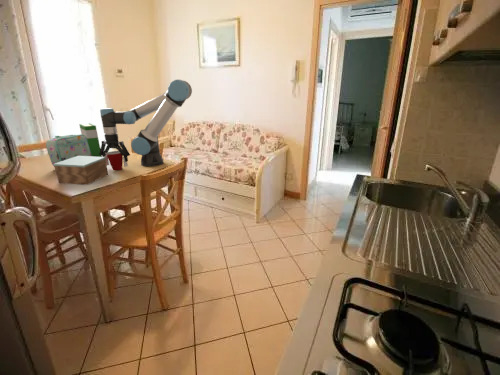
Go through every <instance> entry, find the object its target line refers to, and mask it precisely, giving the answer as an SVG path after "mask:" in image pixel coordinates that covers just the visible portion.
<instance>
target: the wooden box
mask: <svg viewBox="0 0 500 375" xmlns="http://www.w3.org/2000/svg"><path fill="white" fill-rule="evenodd" d="M53 167H54V170H55V173H56V178H57V182H58V183H59V184H69V185H71V184H73V185H85V186H87V185H90V184H92V183H94V182H97V181H98V180H101V179H103V178H104V177H108V176H109V172H108V165H106V160H105V159H104V160H101V161H99V162H96V163H94V164H91V165H89V166H86V167H67V166H53Z"/></svg>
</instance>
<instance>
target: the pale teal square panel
mask: <svg viewBox="0 0 500 375" xmlns="http://www.w3.org/2000/svg"><path fill="white" fill-rule="evenodd" d="M104 159H106V157H103V156H101V157H95V156H76V157H73V158H70V159H67V160H64V161H61V162H58V163H55V164H53V165H52V167H54V166H67V167H86V166H89V165H91V164H94V163H96V162H99V161H101V160H104Z"/></svg>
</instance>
